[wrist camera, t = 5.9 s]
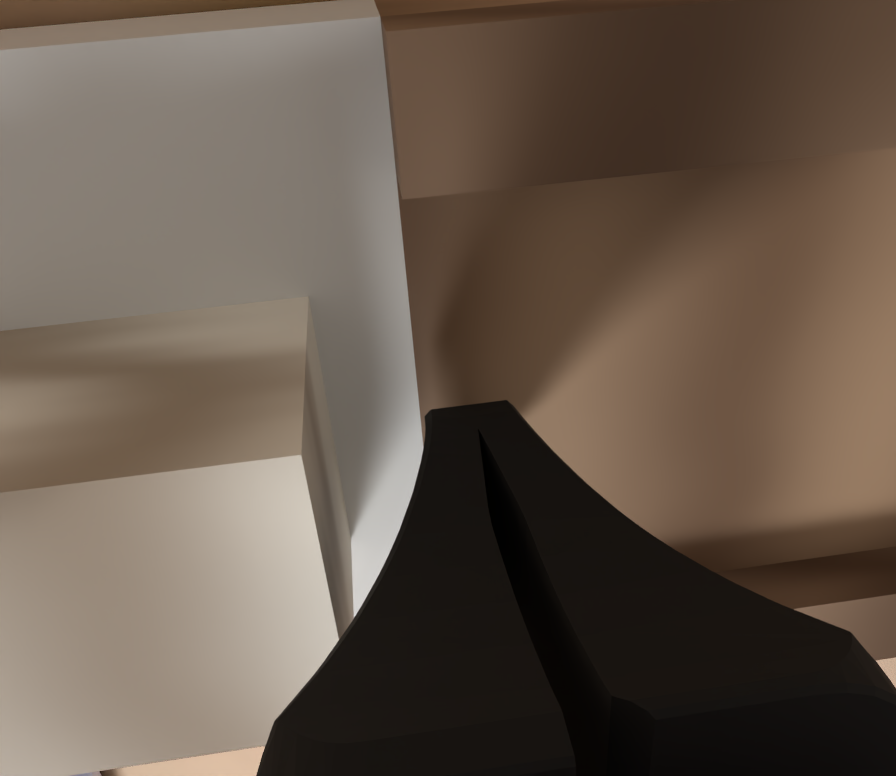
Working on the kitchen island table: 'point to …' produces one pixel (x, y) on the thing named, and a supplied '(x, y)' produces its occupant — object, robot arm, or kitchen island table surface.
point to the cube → (164, 535)
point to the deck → (514, 244)
